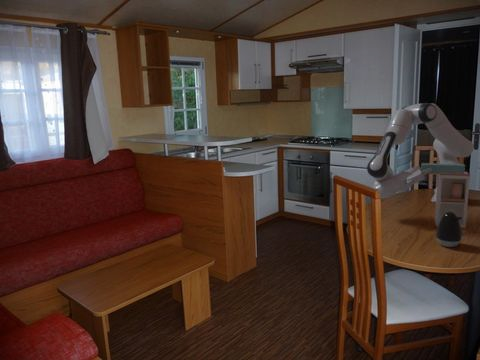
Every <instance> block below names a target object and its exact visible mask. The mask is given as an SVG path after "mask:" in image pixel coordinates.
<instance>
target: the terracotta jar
mask: <svg viewBox="0 0 480 360" xmlns="http://www.w3.org/2000/svg"><path fill="white" fill-rule="evenodd" d="M462 192H463V184H462V183H452V186H451V199H462Z"/></svg>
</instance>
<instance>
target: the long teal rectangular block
mask: <svg viewBox="0 0 480 360" xmlns="http://www.w3.org/2000/svg"><path fill="white" fill-rule="evenodd" d="M420 166H421V167H420V168H421V171H423V170H426V169H427V168H429V167H431V169H432V171H430V172H429V173H427V174H428V175H438V174H440V173H461V174H464V173H465V172H466V164H464V163H460V164H440V163H435V162H434V163H433V162H432V163H431V162H430V163H428V162H427V163H426V162H422V163H421V165H420ZM427 174H426V175H427Z"/></svg>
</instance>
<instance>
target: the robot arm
mask: <svg viewBox="0 0 480 360" xmlns="http://www.w3.org/2000/svg"><path fill="white" fill-rule="evenodd" d="M420 124H424V125H425V126H426V128H427V130H428V131H429V132H430V134H431V135H432V137H434V141H433V144H432V147H433V150H434V151H435V152H436V154H437V156H438V160H439V164H461V163H460V162H459V160H458V158H467V157H470V155H472V154H473V152H474V144H473V142H472V141H471V140H469V139H467V138H466V137H465V136H463V134H461V133H460V132H459V131H458V130H457V129H456V128H455V127H454V126H453V124H452V123H451V122H450V120H449V119H448V117H447V116H446V115H445V113H444V111H443V110H442V109H441V108H440V107H439V106H438V105H437V104H435V103H432V102H431V103H429V102H424V103H415V104H411V105H406V106H403V107H402V108H399V109H396V111H394V113H393V115H392V117H391V118H390V120H389V123H388V126H387V129H386V131H385V133H384V135H383V137H381V141H380V143H379V145H378V147H377V150H376V152H375V154H374V155H373V157H372V158H371V159H370V160H369V162H368V163H367V166H366V170H367V171H366V172H367V173H368V175H369V176H371V177H372V178H373V186H372V188H375V189H378V190H380V191H381V198H380V200H381V199H387V198H390V197H392V196H394V195H396V194H397V193H399V192H403V191H405V190H407V189H410V188H412V187H413V186H412V185H415V184H417V183H419V182H422V181H424V180H425V175H427V173H429V172H430V171H432V169H431V167H429V168H427V169H426V170H423V171H421V167H420V166H421V165H416V166H413V167H411V168H408V169H407V170H401V171H400V172H399V173H398V172H397V173H396V174H394V170H393V169H392V168H391V166H390V165H389V164H388V157H389V155H390V153H391V151H392V149H393V147H394V145H402V144H404V142H406V140H407V138H408V136H409V133H410V130H411V127H412V126H415V125H420ZM433 193H434V194H433V196H432V198H431V201H430V202H433V203H436V194H437V187H435V188H434V189H433Z"/></svg>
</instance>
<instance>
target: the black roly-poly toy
mask: <svg viewBox="0 0 480 360" xmlns="http://www.w3.org/2000/svg"><path fill="white" fill-rule="evenodd" d="M460 219H462V217H457V216H456V214H455V213H453V212H447V213H445V214H444V215H443V216H442V218H441V220H440V222H439V224H438V226H436V231H435V238H436V241H437V242H438V244H439V245H441V246H443V247H445V248H454V247H457V246H458V245H459V244H460V243H461V241H462V239H463V235H462V228H461V226H460V222H459V220H460Z"/></svg>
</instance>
